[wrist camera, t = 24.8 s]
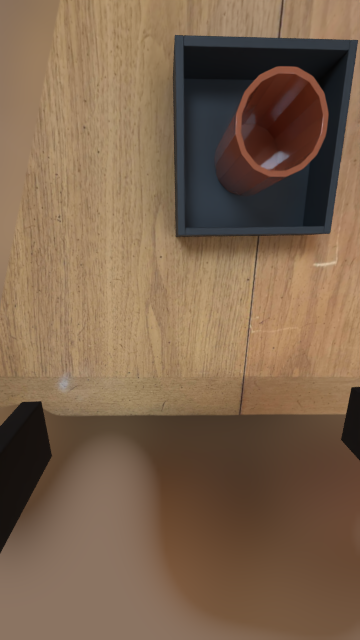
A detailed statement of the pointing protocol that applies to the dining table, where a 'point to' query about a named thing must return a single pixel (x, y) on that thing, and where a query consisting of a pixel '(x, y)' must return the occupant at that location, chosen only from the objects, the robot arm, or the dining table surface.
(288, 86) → the cup
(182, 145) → the bin
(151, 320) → the dining table surface
